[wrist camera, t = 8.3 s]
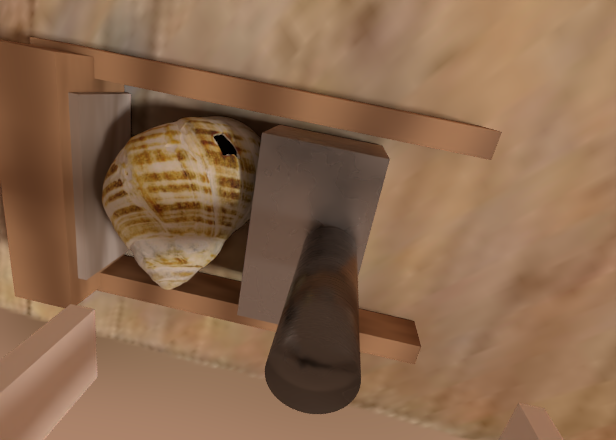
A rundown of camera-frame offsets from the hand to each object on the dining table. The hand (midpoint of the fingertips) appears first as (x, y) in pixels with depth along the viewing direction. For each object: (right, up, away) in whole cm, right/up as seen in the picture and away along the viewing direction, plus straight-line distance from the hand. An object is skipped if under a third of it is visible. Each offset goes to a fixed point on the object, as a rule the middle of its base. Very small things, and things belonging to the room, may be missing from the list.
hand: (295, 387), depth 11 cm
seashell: (-7, +8, +16) cm, 19 cm away
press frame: (-4, +6, +15) cm, 17 cm away
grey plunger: (+1, +5, +15) cm, 16 cm away
